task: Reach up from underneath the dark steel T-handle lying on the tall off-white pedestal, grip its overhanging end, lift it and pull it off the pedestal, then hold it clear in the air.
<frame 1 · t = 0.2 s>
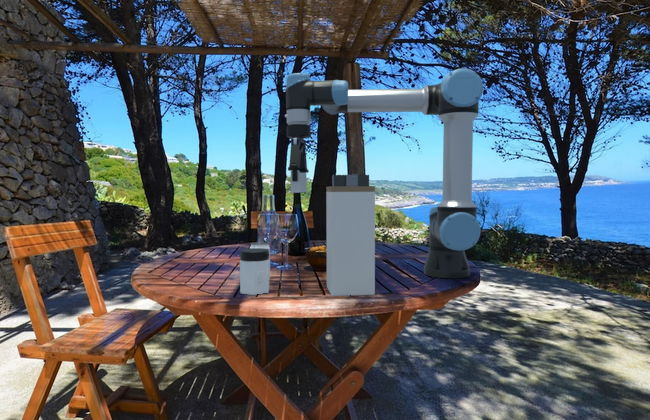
hand: (299, 192, 136), 28 cm above the table, tool pointing down, fingers open, 13 cm apart
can: (260, 280, 139), on the table
jar: (255, 292, 123), on the table
stand: (349, 290, 125), on the table
t handle: (346, 186, 129), point 30 cm above the table, touching stand
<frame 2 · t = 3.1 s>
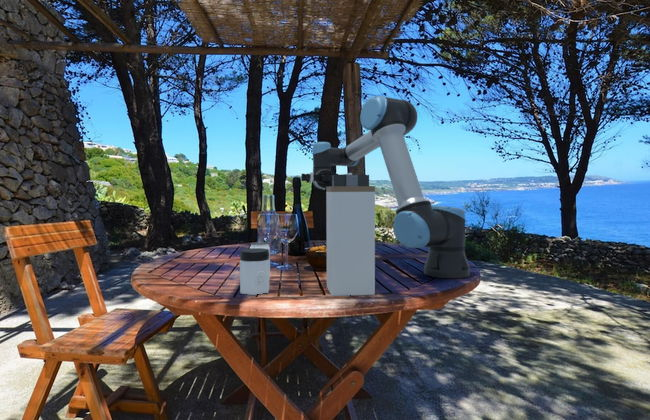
hand: (331, 176, 151), 34 cm above the table, tool horizontal, fingers open, 13 cm apart
nothing on the table moved.
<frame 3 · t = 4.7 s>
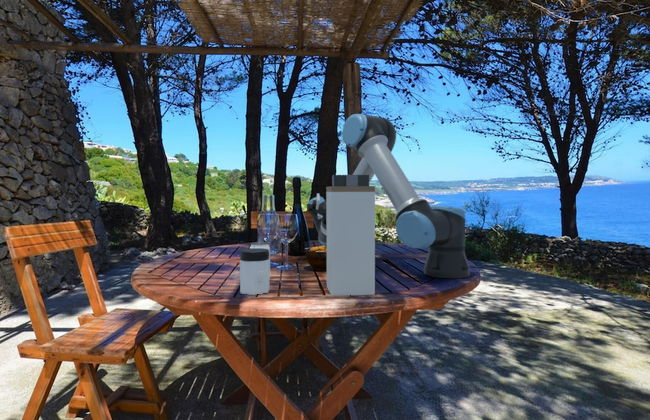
hand: (338, 197, 145), 27 cm above the table, tool pointing upward, fingers open, 13 cm apart
nothing on the table moved.
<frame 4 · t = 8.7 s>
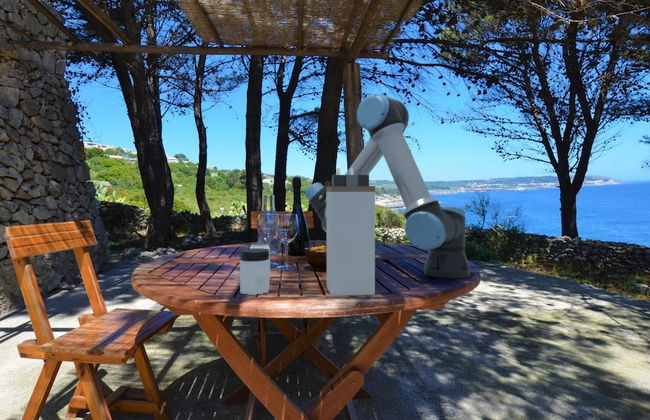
hand: (345, 172, 130), 34 cm above the table, tool pointing upward, fingers closed on t handle, 3 cm apart
t handle: (346, 186, 129), point 30 cm above the table, touching gripper
everything else where it was.
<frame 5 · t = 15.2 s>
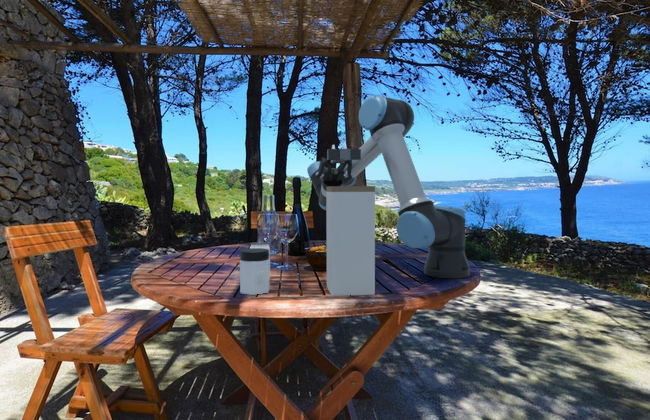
hand: (339, 148, 142), 43 cm above the table, tool pointing upward, fingers closed on t handle, 3 cm apart
t handle: (340, 161, 141), point 38 cm above the table, touching gripper
everything else where it was.
at the end: t handle touching gripper; t handle point 38.3 cm above the table; the gripper is holding t handle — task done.
